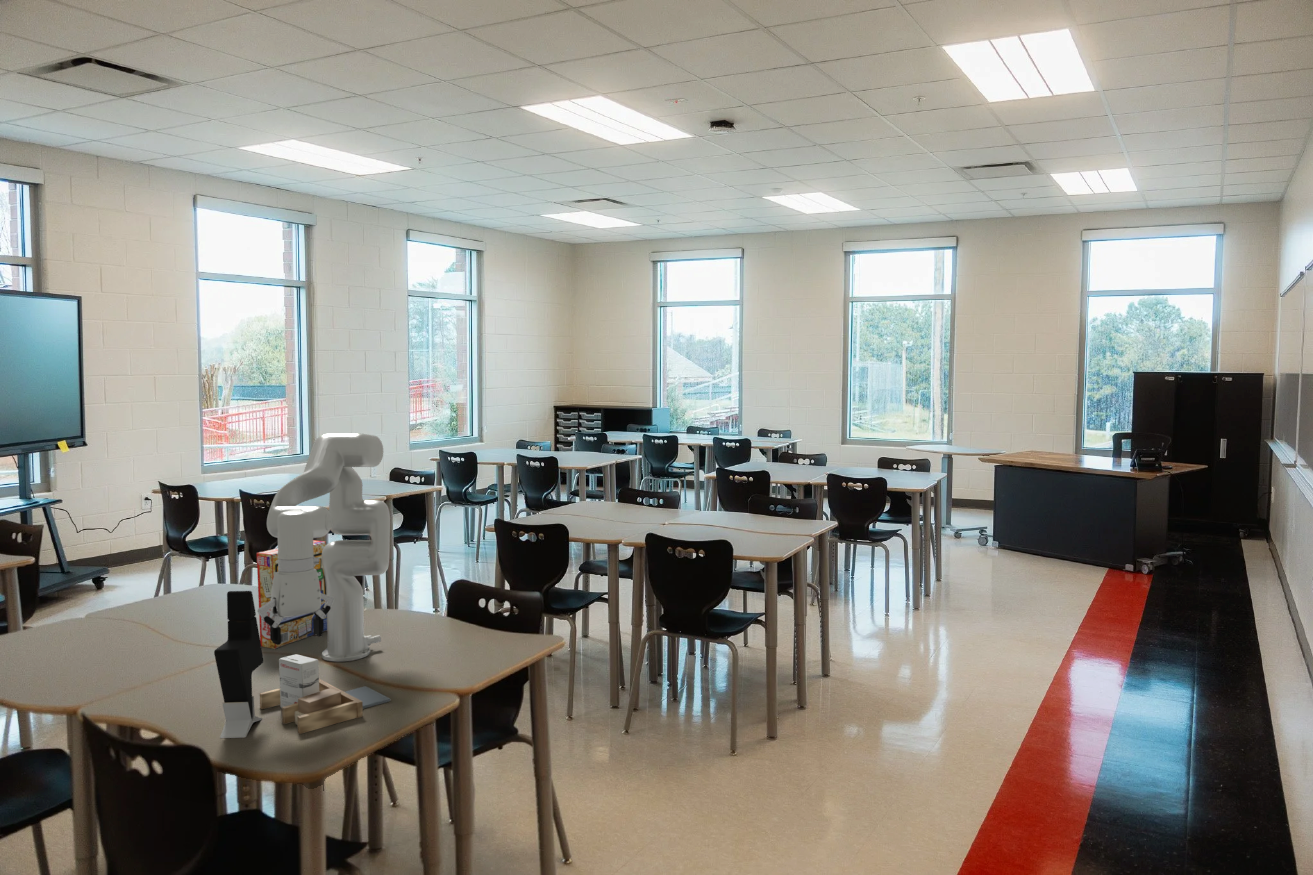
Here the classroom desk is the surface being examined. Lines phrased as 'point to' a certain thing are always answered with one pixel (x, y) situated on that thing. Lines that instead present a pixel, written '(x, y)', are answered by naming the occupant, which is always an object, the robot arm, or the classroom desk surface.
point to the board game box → (266, 568)
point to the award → (239, 664)
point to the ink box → (297, 678)
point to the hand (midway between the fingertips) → (297, 639)
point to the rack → (320, 718)
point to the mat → (368, 696)
